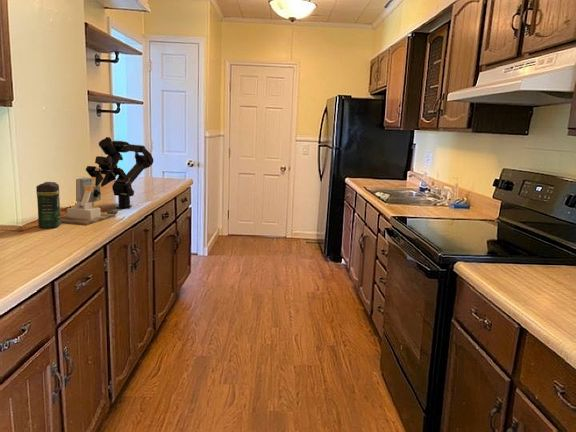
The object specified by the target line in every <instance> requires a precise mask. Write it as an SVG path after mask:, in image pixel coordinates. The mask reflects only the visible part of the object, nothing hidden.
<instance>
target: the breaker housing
mask: <svg viewBox="0 0 576 432" xmlns="http://www.w3.org/2000/svg"><path fill="white" fill-rule="evenodd" d="M80 205H81V202H78V203H75V207H71V208H70V207H67V208H66V215H67V217H71V218H81V219H94V218H97V217H100V216H101V213H102V212H101V208H100V207H95V206H93V207H92V202H89V203H85V204H83V208H81V207H80Z"/></svg>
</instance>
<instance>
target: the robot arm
mask: <svg viewBox="0 0 576 432" xmlns="http://www.w3.org/2000/svg"><path fill="white" fill-rule="evenodd" d="M98 146H99V148H100V149H101V151H102V153H104V155H106V156H102V155H101V156H99V155H97V156H95V160H94V164H96V165H98V167H97V166H94V165H87V166H86V167H85V171H86V172H87V174H88V175H89V176H90V178H95V182H94V183H95V184H94V185H95V186H96V187H97V186H98V185H99V186H100V188H103V187H104V186H106V185H108V184H110V183H111V182H113V181H114V182H113V184H112V186H111V187H112V188H111V189H112V192H113V196H115V197H116V196H117V197H118V206H116V209H130V208H132V207H133V204H131V197H133V196H135V195H134V194H135V190H134V189H133V188H132V184H133V182H134V181H135V180H136V179H137V178H138V176H139V175H141V173H142V172H143V171H144V170H145V169H148V168H150V167H151V166H152V165H153V163H154V157H153V156H152V154H151V152H149V150H148V149H147V148H146V147H145V145H144V144H143V145H141V144H131V143H129V142H127V141H125V140H112V138H111V137H110V136H109V137H108V136H106V137H105V138H103V139H101V140H100V141H98ZM128 152H133V153H135V154H134V159H135V164H134V165H133V166H132V168H131V169H129V171H128V172H127V173H125V171H124V169H123V168H122V167H119V166H118V163H119V162H120V161H123V160H124V157H123V155H122V154H121V153H128ZM139 153H140V154H139ZM103 175H104V177H103ZM117 176H118V177H117ZM116 177H117V178H116Z"/></svg>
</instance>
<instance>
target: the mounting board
mask: <svg viewBox="0 0 576 432" xmlns="http://www.w3.org/2000/svg"><path fill="white" fill-rule="evenodd" d="M100 213H101V216H100V217H97V218H94V219H81V218H71V217H67V214H66V215H62V216H61V224H72V225H82V226H89V225H92V224H96V223H98V222H99V223H100V222H102V221H104V220H108V219H111V217H112V218H114V217H116V213H115V214H107V213H104V212H100Z"/></svg>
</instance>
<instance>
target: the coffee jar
mask: <svg viewBox="0 0 576 432" xmlns="http://www.w3.org/2000/svg"><path fill="white" fill-rule="evenodd" d="M35 190H36V198H37V219H38V222H37V223H38V228H42V229H43V228H44V229H50V228H57V227H59V226H60V225H62V223H61V217H62V216H61V203H60V202H61V201H60V200H61V199H60V185H59V184H58V183H57V182H55V181H45V182H43V183H40V184H38V185H36V189H35Z"/></svg>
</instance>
